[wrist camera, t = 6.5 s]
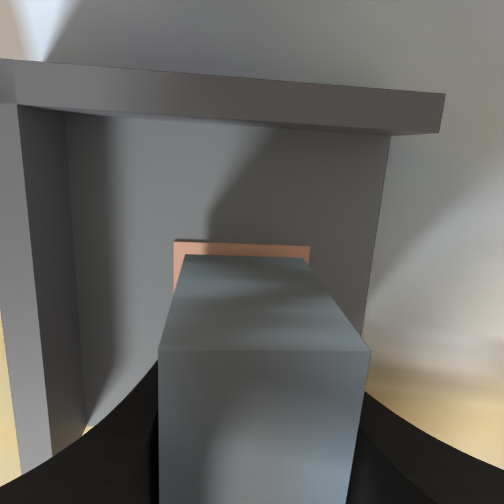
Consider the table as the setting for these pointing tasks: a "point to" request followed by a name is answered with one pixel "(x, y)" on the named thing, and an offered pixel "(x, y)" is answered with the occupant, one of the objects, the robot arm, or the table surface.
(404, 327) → the table surface
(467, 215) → the table surface
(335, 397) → the blue block
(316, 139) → the tray
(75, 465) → the robot arm
